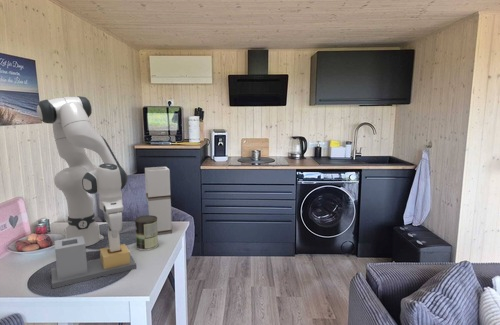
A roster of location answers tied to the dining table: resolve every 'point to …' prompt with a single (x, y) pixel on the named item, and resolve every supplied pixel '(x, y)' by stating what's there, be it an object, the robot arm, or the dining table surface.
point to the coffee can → (146, 232)
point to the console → (86, 262)
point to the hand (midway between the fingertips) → (113, 235)
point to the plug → (113, 241)
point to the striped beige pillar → (159, 197)
